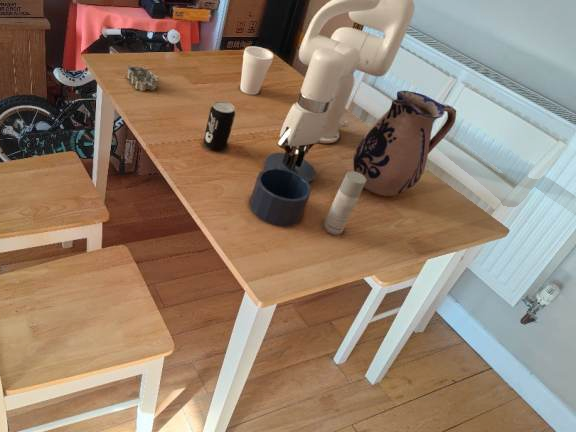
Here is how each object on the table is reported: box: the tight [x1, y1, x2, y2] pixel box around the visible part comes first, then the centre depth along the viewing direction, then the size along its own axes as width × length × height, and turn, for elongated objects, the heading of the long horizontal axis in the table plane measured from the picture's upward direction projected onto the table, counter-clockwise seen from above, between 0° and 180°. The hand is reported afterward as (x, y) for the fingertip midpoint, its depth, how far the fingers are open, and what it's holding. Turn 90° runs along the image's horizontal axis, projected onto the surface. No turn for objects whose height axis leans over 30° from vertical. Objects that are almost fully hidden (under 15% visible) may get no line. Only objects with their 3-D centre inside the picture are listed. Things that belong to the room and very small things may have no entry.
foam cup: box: [239, 45, 274, 96], centre depth 166 cm, size 10×9×13 cm
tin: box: [249, 167, 312, 227], centre depth 121 cm, size 13×13×8 cm
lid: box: [264, 149, 316, 184], centre depth 134 cm, size 14×14×6 cm
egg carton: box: [127, 65, 160, 92], centre depth 160 cm, size 11×8×4 cm
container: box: [322, 170, 366, 236], centre depth 116 cm, size 5×5×15 cm
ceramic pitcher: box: [352, 90, 457, 197], centre depth 131 cm, size 18×21×25 cm
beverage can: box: [203, 100, 236, 152], centre depth 136 cm, size 7×7×12 cm
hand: (291, 164), depth 134 cm, fingers closed on lid, 2 cm apart
